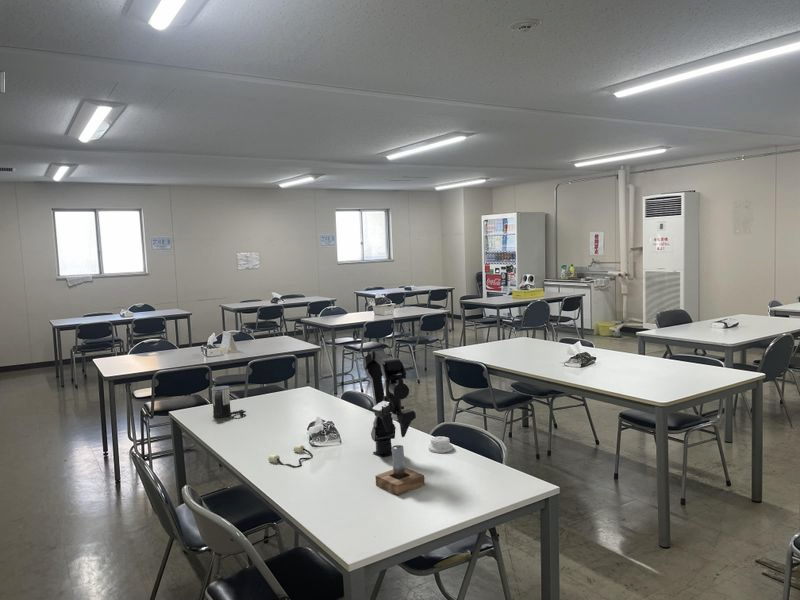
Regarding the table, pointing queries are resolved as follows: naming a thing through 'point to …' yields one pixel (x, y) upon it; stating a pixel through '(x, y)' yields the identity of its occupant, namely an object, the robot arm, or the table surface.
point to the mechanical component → (440, 445)
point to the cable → (296, 449)
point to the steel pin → (398, 462)
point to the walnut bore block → (400, 481)
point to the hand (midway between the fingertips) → (395, 434)
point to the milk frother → (222, 402)
